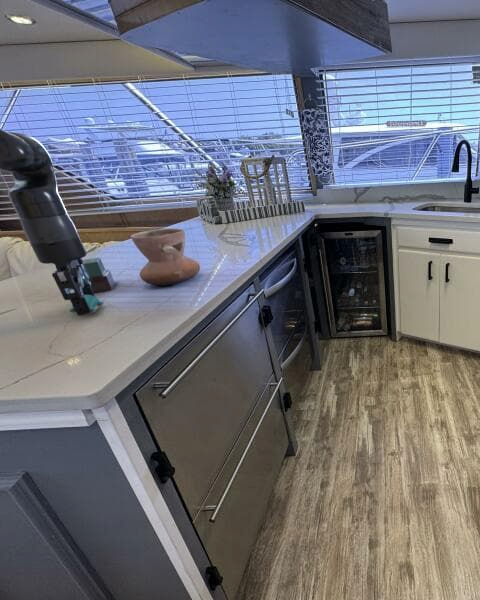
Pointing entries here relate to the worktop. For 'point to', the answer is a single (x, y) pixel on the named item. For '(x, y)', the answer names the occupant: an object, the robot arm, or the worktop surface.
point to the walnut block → (102, 282)
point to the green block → (94, 267)
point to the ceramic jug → (165, 256)
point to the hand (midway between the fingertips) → (87, 307)
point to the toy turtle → (90, 304)
